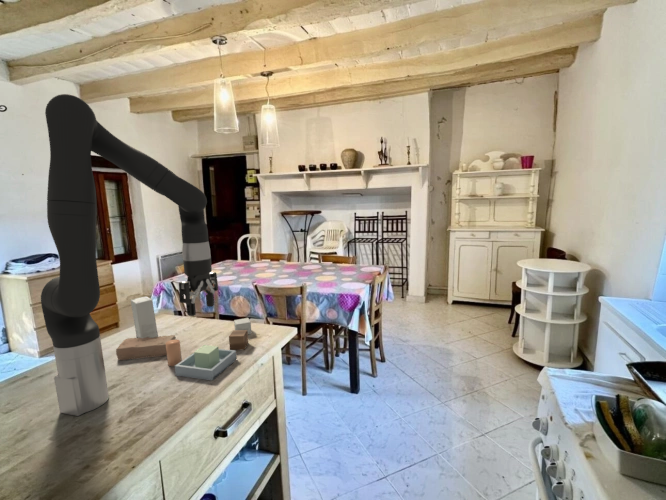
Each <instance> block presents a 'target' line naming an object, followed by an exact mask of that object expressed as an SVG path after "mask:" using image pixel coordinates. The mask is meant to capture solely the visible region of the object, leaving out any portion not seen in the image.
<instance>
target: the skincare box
mask: <svg viewBox="0 0 666 500" xmlns="http://www.w3.org/2000/svg"><path fill="white" fill-rule="evenodd" d="M130 305H131V311H132V317H133V318H132V319H133V325H134V329H135V330H134V331H135V335H136V338H146V337H149V338H155V337H159V334H158V328H157V322H156V321H157V320H156V315H155V308H154V301H153V299H152V298H150V297H148V296H141V297H136V298H133V299H132V298H131V299H130Z"/></svg>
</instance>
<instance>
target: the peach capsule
mask: <svg viewBox="0 0 666 500" xmlns="http://www.w3.org/2000/svg"><path fill="white" fill-rule="evenodd" d="M166 351H167V355H166V359H167V365H168V366H169V367H175V365H177V364H178V363H180V362H181V361H183V359H182V351H181V340H180V339H178V338H177V339H175V340H170V341H168V342H166Z"/></svg>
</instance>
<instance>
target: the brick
mask: <svg viewBox="0 0 666 500" xmlns="http://www.w3.org/2000/svg"><path fill="white" fill-rule="evenodd" d="M175 339H176V335H174V334H171V335H162V336H159V335H158V337H155V338H149V337H146V338H138V337H128V338H125V339H124V340H123V341H122V342H120V344H119V346H118V347H117V348H116V350H115V355H116V357H117V360H118V361H125V360H126V361H127V360H136V359H143V358H144V359H145V358H146V359H147V358H153V357H154V358H155V357H162V356H167V351H166V342H168V341H170V340H175Z"/></svg>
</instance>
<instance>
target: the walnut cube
mask: <svg viewBox="0 0 666 500" xmlns="http://www.w3.org/2000/svg"><path fill="white" fill-rule="evenodd" d="M228 344H229V350H234V351H237V350H238V351H240V349H244V350H246V348H247V346H248V345H249V334H248V331H247V330H235V329H233V330H232V331H231V333H230V334H229V335H228ZM247 344H248V345H247ZM245 347H246V348H245Z"/></svg>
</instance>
